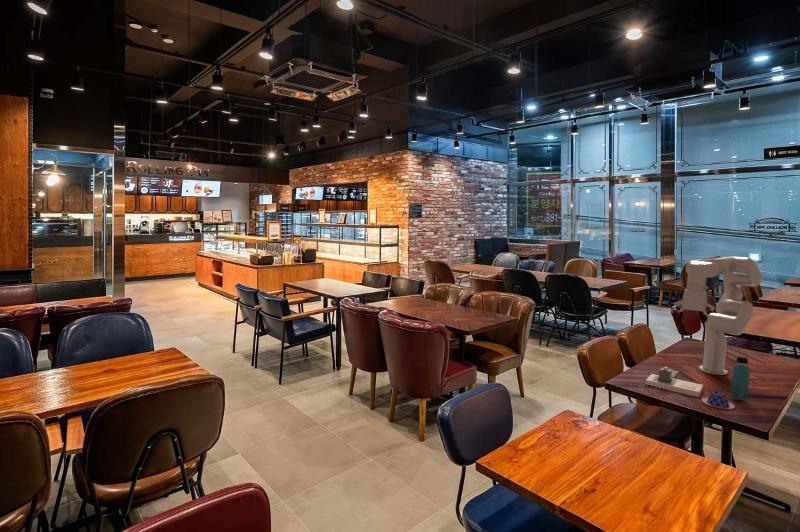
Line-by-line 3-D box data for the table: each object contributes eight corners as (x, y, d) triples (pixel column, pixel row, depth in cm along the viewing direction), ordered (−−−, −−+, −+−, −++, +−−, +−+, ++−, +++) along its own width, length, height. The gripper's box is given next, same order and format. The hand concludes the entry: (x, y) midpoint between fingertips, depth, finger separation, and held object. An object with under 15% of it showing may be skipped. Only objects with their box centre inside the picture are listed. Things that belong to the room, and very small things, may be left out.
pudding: (700, 397, 206) (701, 386, 205) (732, 402, 200) (733, 391, 199) (703, 406, 195) (704, 395, 194) (737, 412, 189) (738, 400, 189)
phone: (664, 370, 243) (664, 368, 242) (679, 373, 238) (679, 371, 238) (658, 376, 233) (658, 373, 233) (673, 379, 228) (673, 377, 228)
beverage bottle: (750, 404, 198) (755, 360, 195) (733, 402, 199) (738, 359, 197) (742, 398, 204) (747, 356, 202) (726, 397, 205) (730, 354, 203)
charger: (660, 382, 222) (661, 365, 221) (670, 385, 219) (672, 367, 218) (658, 385, 219) (659, 367, 218) (668, 387, 216) (670, 369, 215)
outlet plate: (651, 378, 228) (651, 373, 228) (702, 389, 214) (703, 384, 213) (645, 384, 219) (645, 379, 219) (698, 397, 205) (699, 391, 204)
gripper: (717, 288, 220) (714, 322, 222) (677, 284, 231) (674, 317, 233) (715, 290, 214) (712, 325, 216) (674, 286, 225) (671, 319, 227)
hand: (692, 321), depth 224 cm, fingers open, 9 cm apart
